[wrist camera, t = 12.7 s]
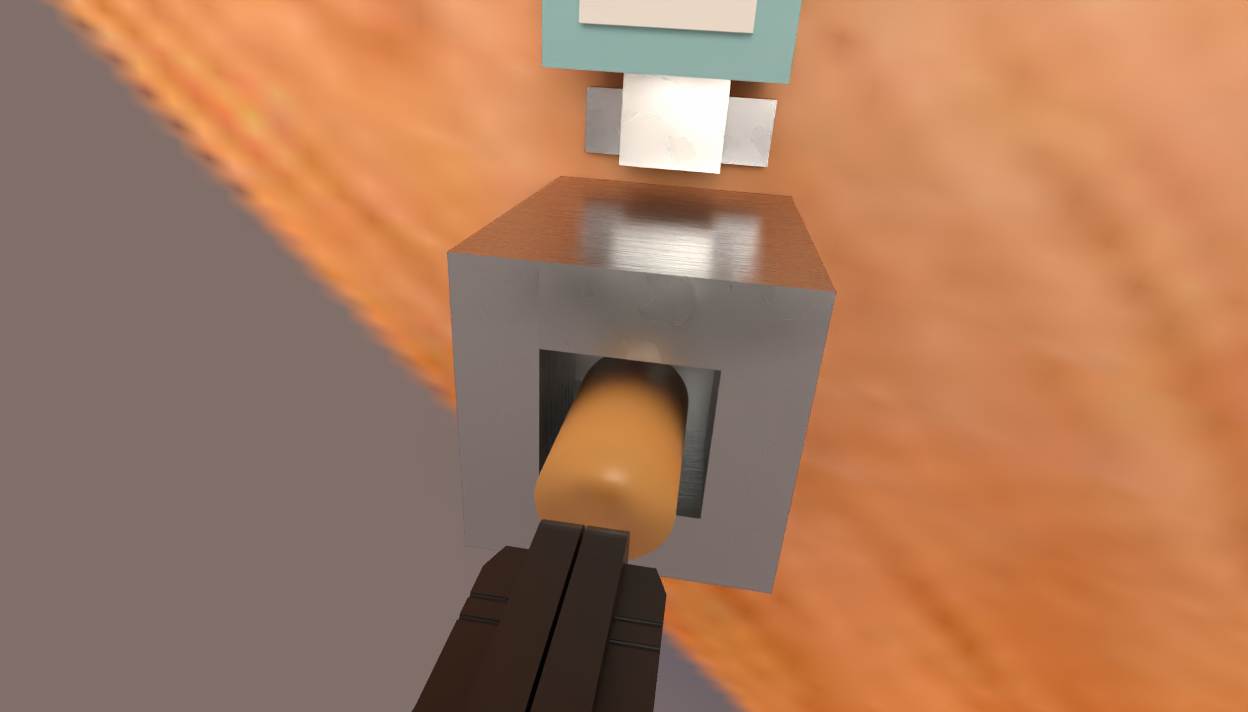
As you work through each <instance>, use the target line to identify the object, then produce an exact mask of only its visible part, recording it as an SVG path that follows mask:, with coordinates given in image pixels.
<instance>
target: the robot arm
mask: <svg viewBox="0 0 1248 712" xmlns="http://www.w3.org/2000/svg"><path fill="white" fill-rule="evenodd" d="M629 543H630V531H623V530H616V529H609V528H602V527H596V526H589V525H588V526H587V527H586V529H585V525H581V524H574V523H567V522H560V521H554V520H547V519H542V520H541V522H540V523H539V525H538V528H537V530H536V533H535V535H534V538H533V540H532V543H531V545H530V547H529V549H525V548H519V547H512V546H505V547H504V548H503V549H502V550H500V551H499V552H498V553H497V554H496V555H495V556H494V557H493V558H491V560H490V561H488V562H487V563H486V564H485V565H484V566H483V567H482V569H481V572H480V574H479V576H478V578H477V580H476V582H475V584H474V586H473V588H472V590H471V593H470V597H469V598H467V600H466V603H465V604H464V607H463V609H462V611H461V613H460V617H459V620H457V621H456V623H455V625H454V627H453V630H452V631H451V633H450V635H449V638H448V640H447V642H446V644H445V646H444V648H443V650H442V652H441V654H440V656H439V658H438V660H437V662H436V665H435V667H434V669H433V671H432V673H431V675H430V677H429V679H428V681H427V683H426V685H425V687H424V689H423V691H422V693H421V695H420V698H419V699H418V702H417V704H416V706H415V707H414V709H413V711H412V712H653V708H654V699H655V690H656V682H657V673H658V663H659V655H660V646H661V638H662V628H663V620H664V611H665V602H666V592H665V590H664V587H663V585H662V582H661V579H660V577H659V574H658V571H657V569H656V568H651V567H644V566H638V565H631V564H628V555H629Z"/></svg>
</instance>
